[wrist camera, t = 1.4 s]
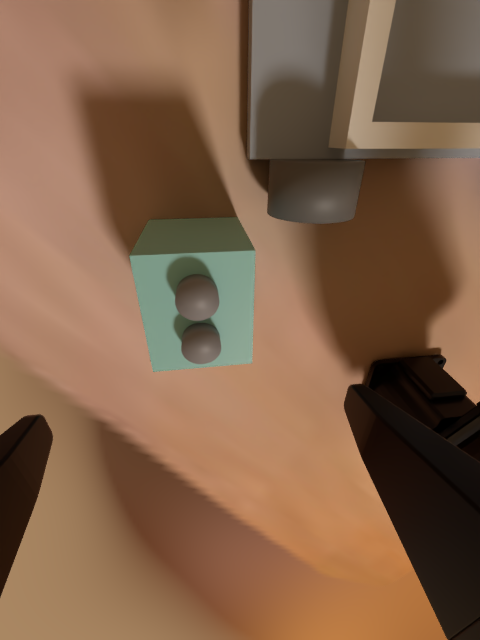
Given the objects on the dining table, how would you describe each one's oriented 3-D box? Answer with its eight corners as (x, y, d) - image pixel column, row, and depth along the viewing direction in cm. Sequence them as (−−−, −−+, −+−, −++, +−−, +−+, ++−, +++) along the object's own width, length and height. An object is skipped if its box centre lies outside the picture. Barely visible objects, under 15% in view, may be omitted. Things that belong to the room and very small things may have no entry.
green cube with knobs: (237, 306, 20) (254, 373, 15) (163, 311, 20) (151, 383, 14) (237, 216, 17) (258, 257, 11) (148, 219, 17) (125, 263, 11)
